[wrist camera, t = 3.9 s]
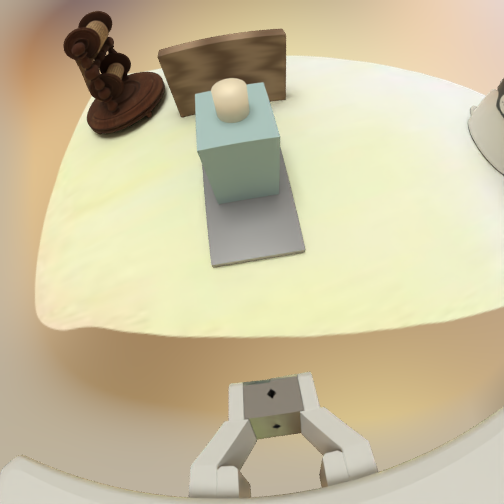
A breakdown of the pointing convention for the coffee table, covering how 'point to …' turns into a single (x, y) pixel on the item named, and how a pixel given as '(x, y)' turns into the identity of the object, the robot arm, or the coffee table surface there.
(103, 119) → the scroll
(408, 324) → the coffee table surface
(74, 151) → the coffee table surface
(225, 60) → the backstop wall
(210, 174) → the dowel block
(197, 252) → the coffee table surface
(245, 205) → the grey flat rectangular plate
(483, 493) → the robot arm
